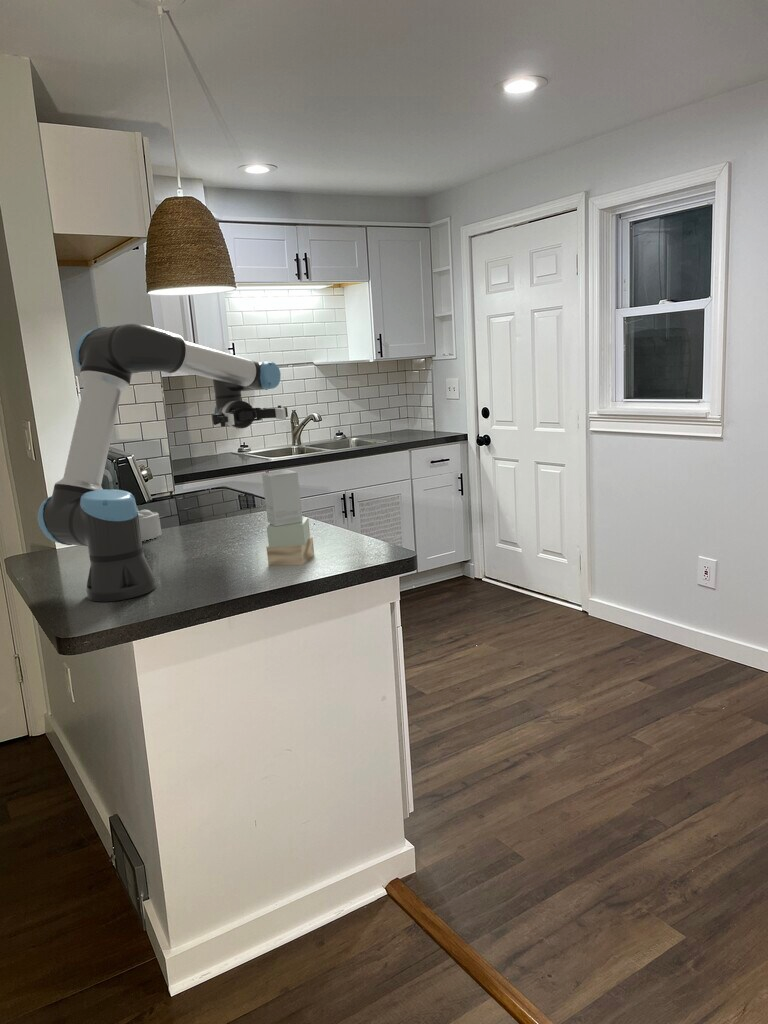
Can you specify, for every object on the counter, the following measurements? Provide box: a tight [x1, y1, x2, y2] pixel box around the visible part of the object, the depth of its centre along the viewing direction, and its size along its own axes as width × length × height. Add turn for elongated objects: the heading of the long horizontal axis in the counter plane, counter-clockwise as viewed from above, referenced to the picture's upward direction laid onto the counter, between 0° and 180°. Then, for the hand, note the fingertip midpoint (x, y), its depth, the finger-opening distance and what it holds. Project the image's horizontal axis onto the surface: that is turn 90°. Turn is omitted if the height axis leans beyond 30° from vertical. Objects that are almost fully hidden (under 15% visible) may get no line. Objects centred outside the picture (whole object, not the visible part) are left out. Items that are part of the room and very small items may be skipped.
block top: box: [266, 516, 311, 547], centre depth 191 cm, size 9×9×5 cm
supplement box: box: [261, 469, 303, 526], centre depth 189 cm, size 7×7×13 cm
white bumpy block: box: [138, 509, 163, 542], centre depth 233 cm, size 10×13×9 cm
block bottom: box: [266, 536, 315, 566], centre depth 192 cm, size 9×9×5 cm
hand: (258, 416), depth 194 cm, fingers open, 13 cm apart
